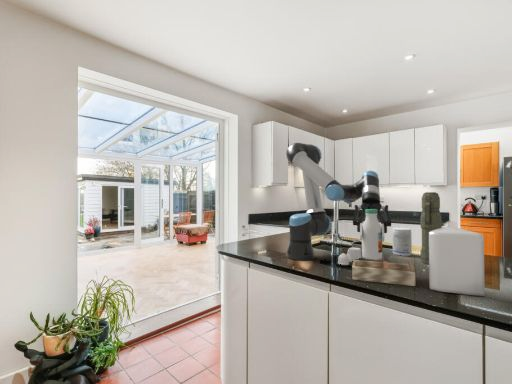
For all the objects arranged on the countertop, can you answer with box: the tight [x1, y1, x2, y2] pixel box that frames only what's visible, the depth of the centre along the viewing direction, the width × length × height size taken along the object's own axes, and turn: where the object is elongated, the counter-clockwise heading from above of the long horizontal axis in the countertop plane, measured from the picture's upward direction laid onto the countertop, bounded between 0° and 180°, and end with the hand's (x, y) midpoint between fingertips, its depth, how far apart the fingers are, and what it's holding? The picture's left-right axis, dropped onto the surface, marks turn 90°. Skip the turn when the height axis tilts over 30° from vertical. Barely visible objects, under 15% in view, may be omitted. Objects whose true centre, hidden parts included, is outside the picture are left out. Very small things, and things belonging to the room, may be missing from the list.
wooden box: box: [351, 259, 416, 287], centre depth 110 cm, size 22×13×7 cm, turn 68°
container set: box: [337, 246, 362, 266], centre depth 139 cm, size 20×5×6 cm, turn 140°
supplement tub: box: [392, 227, 413, 257], centre depth 154 cm, size 10×10×15 cm
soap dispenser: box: [428, 226, 486, 297], centre depth 98 cm, size 15×14×22 cm
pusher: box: [383, 255, 389, 270], centre depth 109 cm, size 2×10×8 cm, turn 158°
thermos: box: [420, 191, 443, 266], centre depth 134 cm, size 9×12×35 cm
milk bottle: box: [361, 209, 383, 261], centre depth 111 cm, size 8×8×20 cm
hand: (372, 238), depth 108 cm, fingers closed on milk bottle, 7 cm apart
